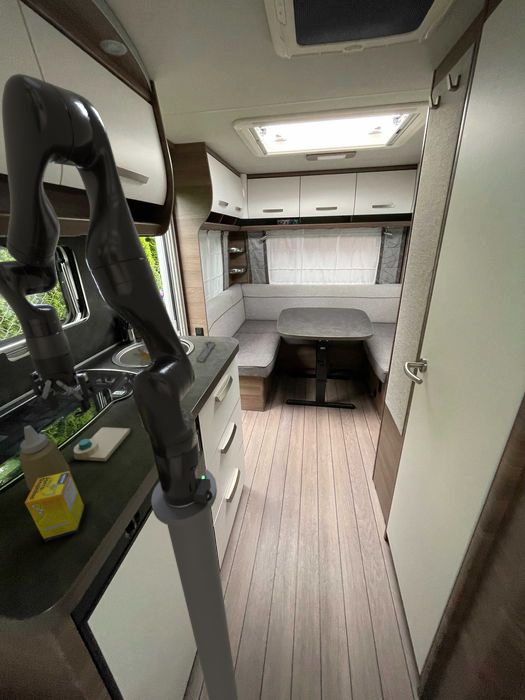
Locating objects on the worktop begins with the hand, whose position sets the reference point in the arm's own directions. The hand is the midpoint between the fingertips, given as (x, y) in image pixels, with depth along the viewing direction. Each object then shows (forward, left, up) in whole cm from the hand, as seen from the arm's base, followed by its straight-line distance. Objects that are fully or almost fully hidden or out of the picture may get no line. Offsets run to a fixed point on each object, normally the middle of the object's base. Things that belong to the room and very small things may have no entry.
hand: (70, 409), depth 70 cm
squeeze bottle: (0, +11, -15) cm, 19 cm away
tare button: (0, 0, -12) cm, 12 cm away
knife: (-11, -73, -15) cm, 75 cm away
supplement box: (-9, +19, -15) cm, 26 cm away
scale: (-2, -4, -15) cm, 16 cm away
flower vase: (-10, -31, -15) cm, 36 cm away
